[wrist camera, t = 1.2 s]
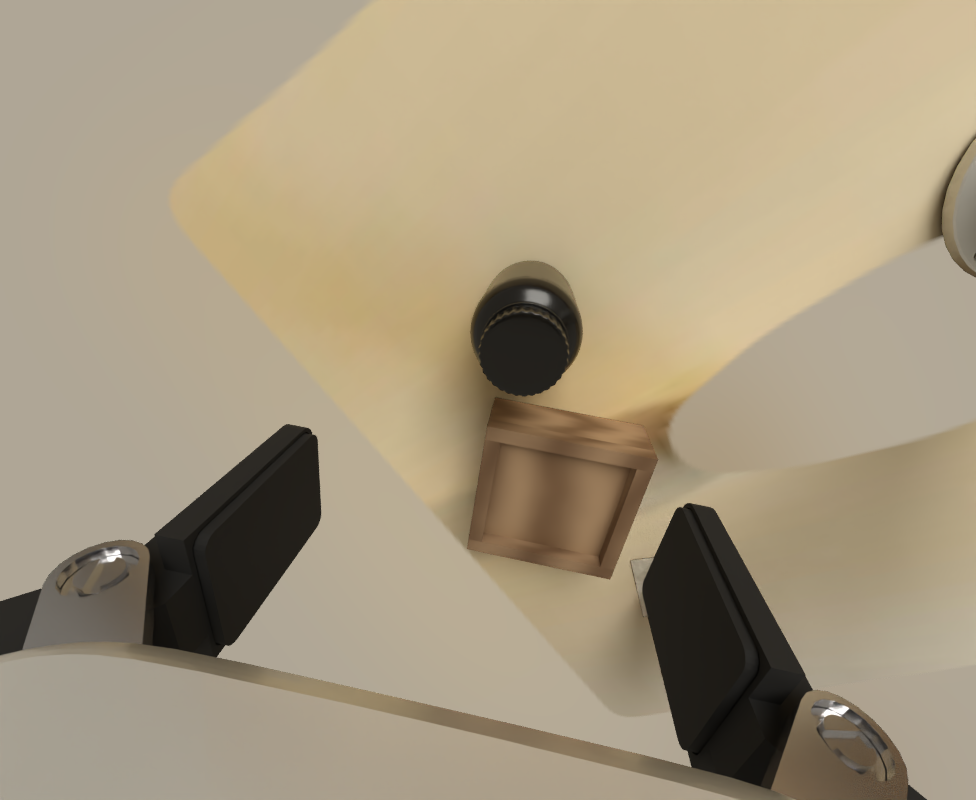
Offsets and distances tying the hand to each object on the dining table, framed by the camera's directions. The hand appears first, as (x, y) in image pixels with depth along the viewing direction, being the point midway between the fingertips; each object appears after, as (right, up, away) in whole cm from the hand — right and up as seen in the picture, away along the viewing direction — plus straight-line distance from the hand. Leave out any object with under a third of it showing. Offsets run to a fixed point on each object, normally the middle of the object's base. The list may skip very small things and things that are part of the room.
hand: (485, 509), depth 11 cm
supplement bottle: (+3, +10, +22) cm, 24 cm away
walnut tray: (+6, -4, +28) cm, 29 cm away
